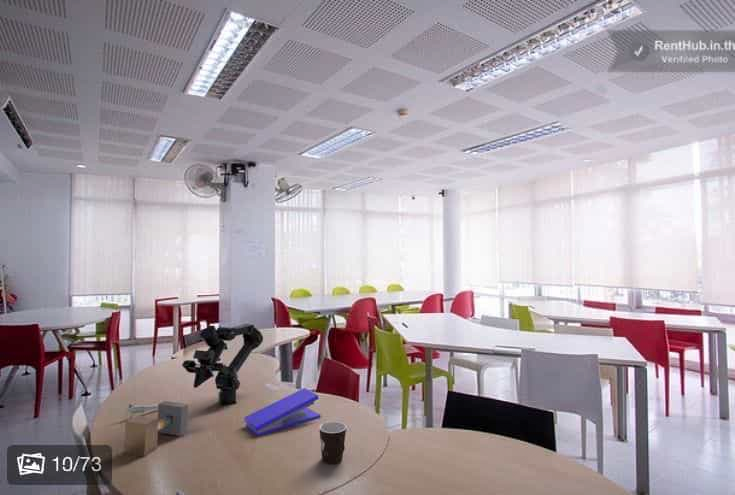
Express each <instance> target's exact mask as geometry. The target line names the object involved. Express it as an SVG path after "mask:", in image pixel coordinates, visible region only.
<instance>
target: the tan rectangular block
mask: <svg viewBox="0 0 735 495" xmlns="http://www.w3.org/2000/svg"><path fill="white" fill-rule="evenodd" d="M172 422H173V416H170V415H169V416H167V417H165V418H163V419H161V420H158V417H151V416H143V415H135V416H134V418H132V419H130V418H129V419H128V420H127V421H126V420H125V424H124V425H125V426H124V428H125V429H124V442H123V443H124V445H123V454H126V453H127V455H132V456H138V457H146V456H148V455H150V454H151V453H154V452H155V451H156V450H158V430H159V429H162V428H163V427H165V426H167V425H169V424H170V423H172Z"/></svg>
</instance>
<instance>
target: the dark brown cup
mask: <svg viewBox="0 0 735 495" xmlns="http://www.w3.org/2000/svg"><path fill="white" fill-rule="evenodd" d="M318 427H319V437H320V438H319V439H320V450H321V460H322V462H323V463H325V464H326V465H337V464H340V463H341V462H342V461H343V456H344V451H345V446H346V445H345V441H346V435H347V425H346V424H345V423H344V422H339V421H327V422H323V423H322V424H320V425H319V426H318Z"/></svg>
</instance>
